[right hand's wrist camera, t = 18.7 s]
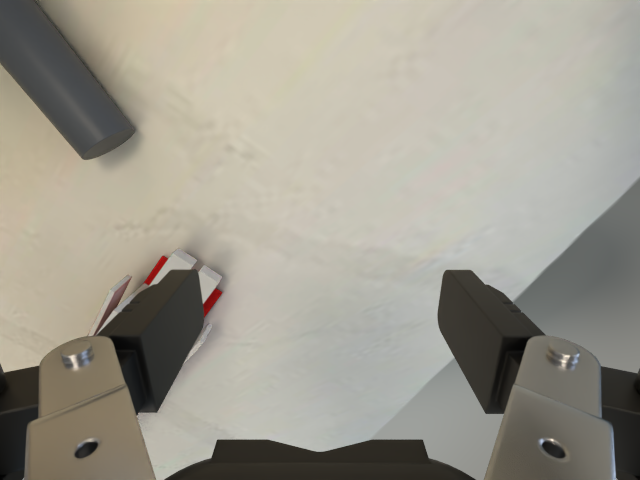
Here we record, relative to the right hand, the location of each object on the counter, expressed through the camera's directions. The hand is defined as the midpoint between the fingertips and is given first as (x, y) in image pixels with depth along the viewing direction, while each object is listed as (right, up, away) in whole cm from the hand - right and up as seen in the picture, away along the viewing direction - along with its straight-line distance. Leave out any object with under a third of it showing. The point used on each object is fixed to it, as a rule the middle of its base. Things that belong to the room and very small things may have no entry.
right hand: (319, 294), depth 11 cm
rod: (-30, +24, +25) cm, 46 cm away
